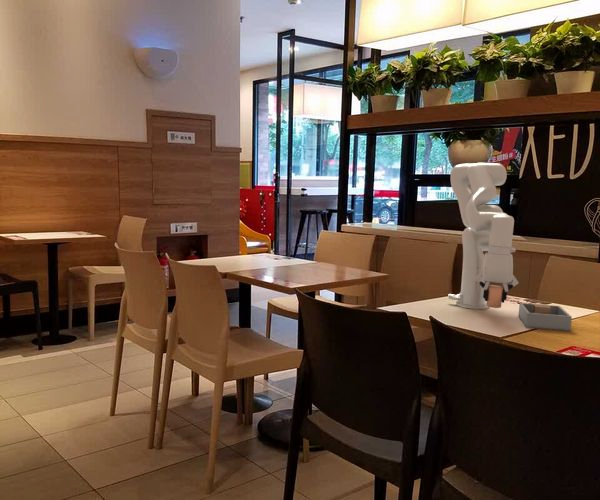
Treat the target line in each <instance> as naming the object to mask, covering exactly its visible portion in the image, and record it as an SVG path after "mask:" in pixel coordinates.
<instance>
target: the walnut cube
mask: <svg viewBox="0 0 600 500" xmlns="http://www.w3.org/2000/svg"><path fill="white" fill-rule="evenodd" d="M532 304H533V312H532V313H538V314H550V313H551V307H550V306H549V304H541V303H532Z"/></svg>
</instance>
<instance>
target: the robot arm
mask: <svg viewBox="0 0 600 500" xmlns="http://www.w3.org/2000/svg"><path fill="white" fill-rule="evenodd" d="M507 178H508V177H507V170H506V168H505V166H504V165H503V164H501V163H495V162H494V163H491V162H490V163H489V162H477V163H461V164H456V165H454V167H452V169H451V172H450V185H451V189H452V191H453V193H454V196H455V198H456V199H457V202H458V206H459V211H460V215H461V216H460V217H461V220H462V223H463V225H464V226H465V227H466V228H464V230H463V232H462V234H461V239H462V240H461V242H462V254H463V255H462V269H461V270H462V272H461V273H462V274H461V286H460V292H459V293H457V294H451V293H449V294H448V300H452V301H456V302H455V305H456V306H458V307H460V308H465V309H470V310H486V309H490V307H488V306H486V304H487V301H488V286H489V285H490V283H493V284H494V283H495V284H502V287H503V294H502V304H503V303H505V301H507V296H508V292H509V291H510V290H512V289H513V288H514V287H515V286H517V285H518V284H519V283H520V282H519V280H517V278H516V276H515V275H514V274H513V273H514V258H513V253H516V250H517V249H516V248H515V247H512V244H513V235H514V234H513V233H514V225H515V219H514V217H513V216H512V215H508V214H507V213H506V212H504V211H503V209H502V208H501V207H500V206H499V205H495V204H488V203H491V202H492V201H493V200H495V199H496V197H497V194H498V192H497V191H498V190H497V188H496V187H497V186H502V185H504V184H505V183H506V180H507ZM484 252H485V254H484Z"/></svg>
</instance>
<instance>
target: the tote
mask: <svg viewBox="0 0 600 500" xmlns="http://www.w3.org/2000/svg"><path fill="white" fill-rule="evenodd" d="M533 304H534V303H525V302H520V303H519V305H518V318H519V319H520V321H521V322H522V324H523V325H524V326H525V328H526V329H537V330H546V331H549V330H550V331H559V332H569V333H570V332H571V327H572V315H570V314H569V312H567V311H566V310H565V309H564V308H563V307H561V306H560V305H549V304H548V305H549V306H550V307H551V313H550V314H538V313H532V312H533Z"/></svg>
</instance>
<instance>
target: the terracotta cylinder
mask: <svg viewBox="0 0 600 500" xmlns="http://www.w3.org/2000/svg"><path fill="white" fill-rule="evenodd" d="M503 288H504V287H503V286H501V285H495V284H489V286H488V301H486V303H487V304H486V306H488V307H489V308H492V309H493V308H494V309H501V308H502V305H503V303H502V294H503Z"/></svg>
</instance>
